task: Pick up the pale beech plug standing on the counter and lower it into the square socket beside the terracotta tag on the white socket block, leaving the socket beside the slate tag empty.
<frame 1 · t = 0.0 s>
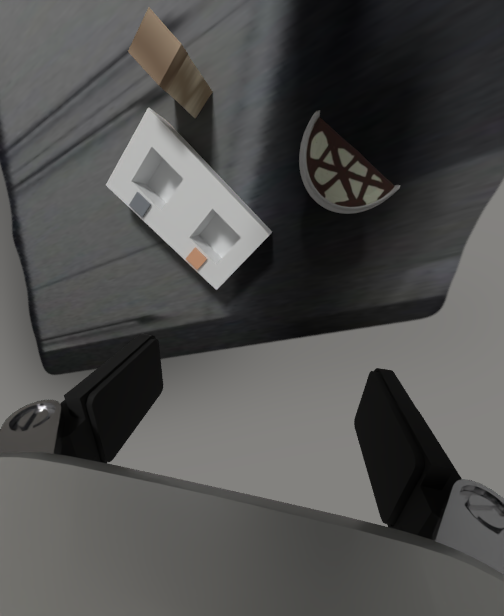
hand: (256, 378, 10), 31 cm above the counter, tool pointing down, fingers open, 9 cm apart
food container: (326, 186, 34), on the counter
socket block: (199, 209, 38), on the counter
plug: (193, 93, 32), on the counter
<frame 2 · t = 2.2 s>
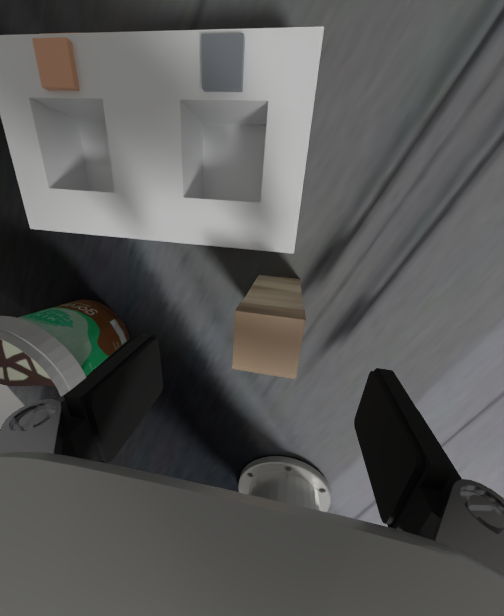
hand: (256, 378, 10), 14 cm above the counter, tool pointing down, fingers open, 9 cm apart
food container: (90, 313, 28), on the counter
socket block: (177, 165, 21), on the counter
plug: (276, 296, 23), on the counter
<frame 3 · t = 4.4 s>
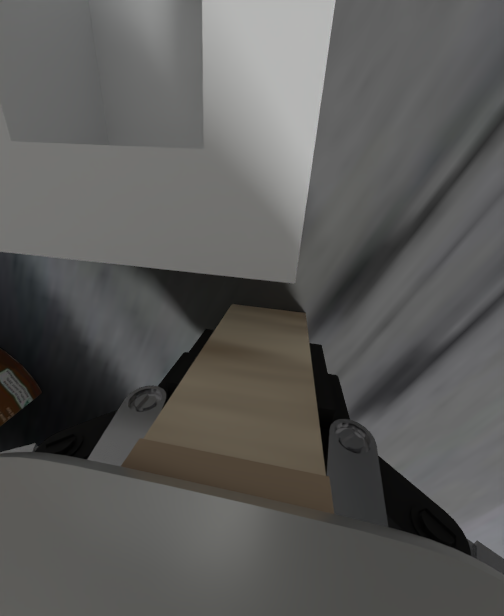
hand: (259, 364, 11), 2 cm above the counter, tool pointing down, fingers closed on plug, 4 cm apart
socket block: (61, 94, 10), on the counter
plug: (264, 340, 13), on the counter, touching gripper
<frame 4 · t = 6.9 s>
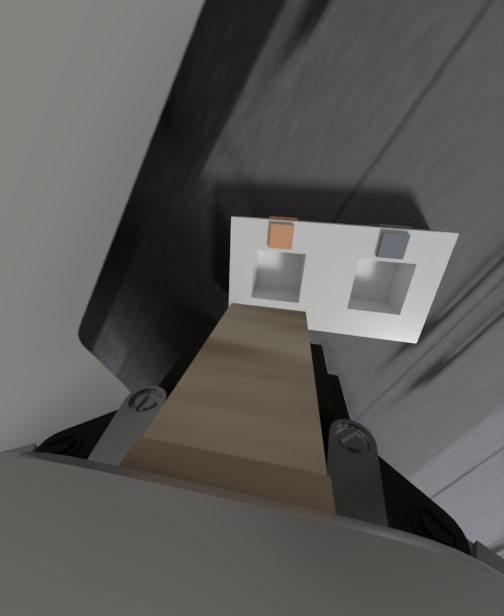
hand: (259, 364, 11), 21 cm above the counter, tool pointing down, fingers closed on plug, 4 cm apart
socket block: (322, 271, 30), on the counter
plug: (264, 339, 13), point 19 cm above the counter, touching gripper
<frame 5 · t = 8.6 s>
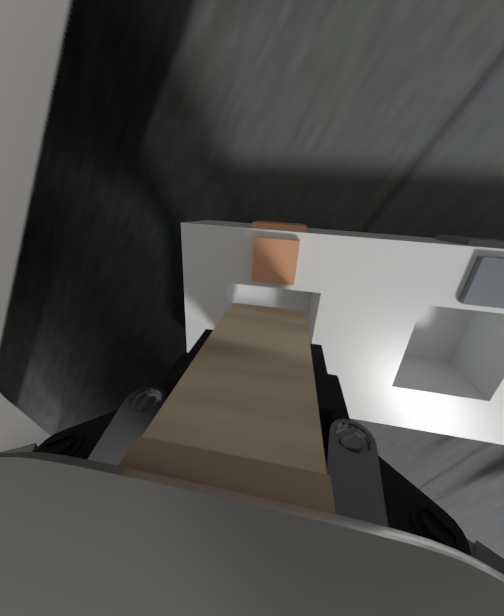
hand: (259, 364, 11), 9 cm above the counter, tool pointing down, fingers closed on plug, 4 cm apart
socket block: (342, 310, 19), on the counter
plug: (264, 339, 13), point 7 cm above the counter, touching gripper
when the fingers open (6 cm above the counter, at t = 9.9 s): plug drops 2 cm, resting on socket block.
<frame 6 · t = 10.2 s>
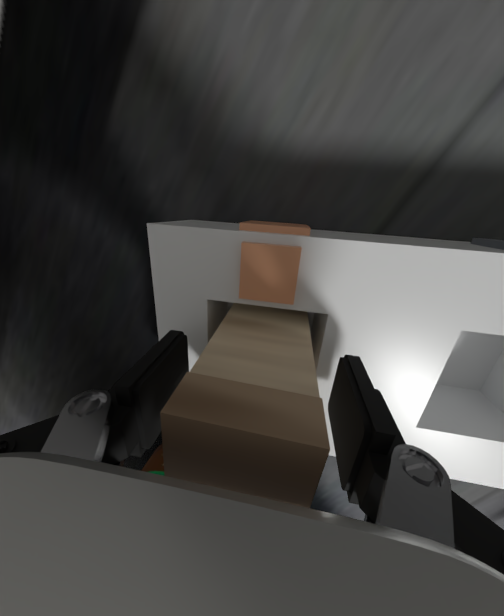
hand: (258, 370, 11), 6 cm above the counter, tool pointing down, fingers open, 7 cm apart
food container: (190, 450, 24), on the counter
socket block: (351, 327, 16), on the counter
plug: (269, 323, 15), point 1 cm above the counter, touching socket block
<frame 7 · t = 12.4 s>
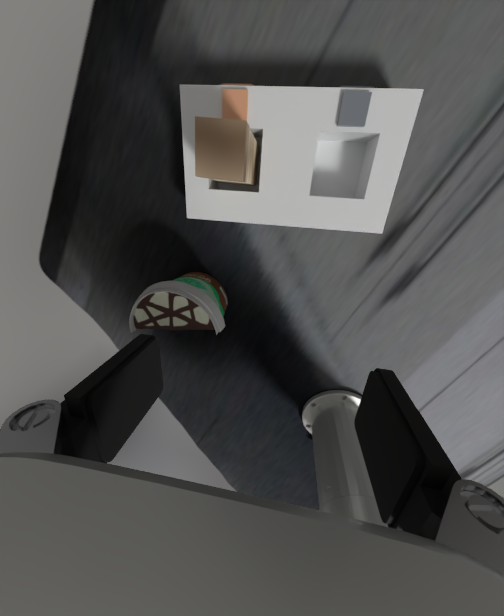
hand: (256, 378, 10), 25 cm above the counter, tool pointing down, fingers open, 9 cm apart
food container: (197, 283, 37), on the counter
socket block: (287, 169, 28), on the counter
plug: (241, 165, 28), point 1 cm above the counter, touching socket block
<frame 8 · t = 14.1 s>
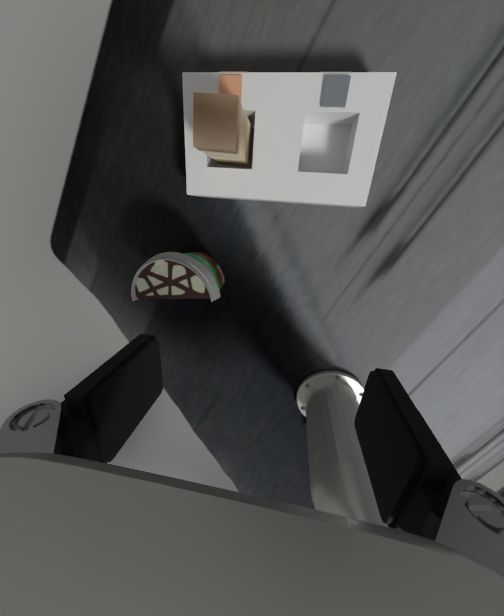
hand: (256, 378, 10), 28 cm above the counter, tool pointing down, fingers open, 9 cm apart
food container: (196, 262, 39), on the counter
socket block: (279, 152, 31), on the counter
plug: (237, 148, 31), point 1 cm above the counter, touching socket block
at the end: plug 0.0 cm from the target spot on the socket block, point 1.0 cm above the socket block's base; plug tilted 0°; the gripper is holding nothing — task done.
